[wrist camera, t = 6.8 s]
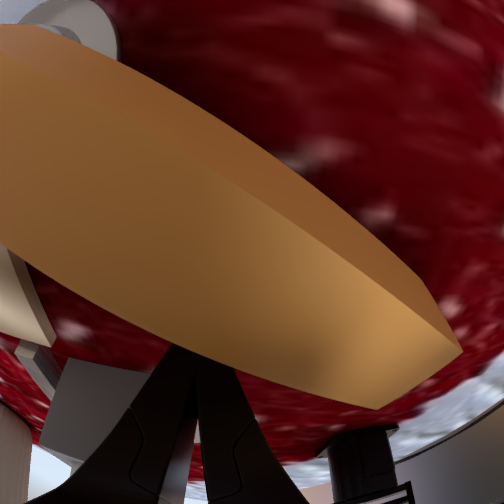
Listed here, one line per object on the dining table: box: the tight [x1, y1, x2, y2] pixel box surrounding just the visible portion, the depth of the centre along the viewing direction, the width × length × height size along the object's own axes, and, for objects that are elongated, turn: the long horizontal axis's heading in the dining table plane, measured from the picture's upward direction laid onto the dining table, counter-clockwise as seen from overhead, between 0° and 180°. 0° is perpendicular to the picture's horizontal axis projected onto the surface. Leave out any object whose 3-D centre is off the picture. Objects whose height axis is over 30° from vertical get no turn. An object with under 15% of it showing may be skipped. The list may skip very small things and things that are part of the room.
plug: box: [38, 357, 151, 476], centre depth 12 cm, size 5×6×8 cm
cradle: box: [14, 0, 200, 443], centre depth 10 cm, size 24×12×2 cm, turn 173°
